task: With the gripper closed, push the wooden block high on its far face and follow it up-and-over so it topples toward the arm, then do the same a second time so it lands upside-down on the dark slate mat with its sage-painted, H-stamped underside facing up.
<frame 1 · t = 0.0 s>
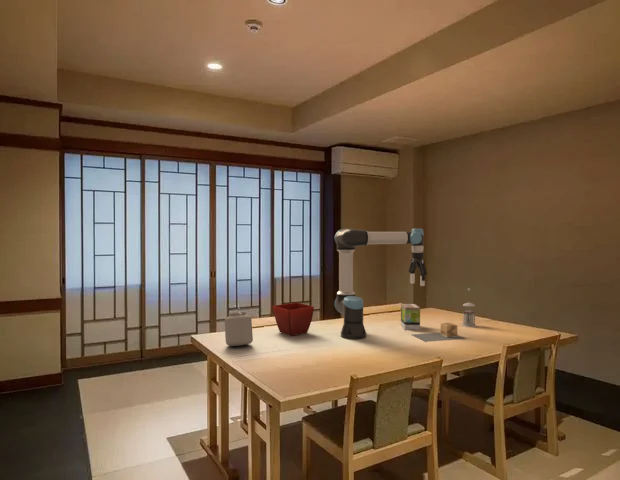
hand: (417, 284, 295), 28 cm above the table, fingers open, 13 cm apart
wooden block: (448, 335, 269), resting on slate mat
plant pot: (293, 333, 279), on the table
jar: (238, 346, 249), on the table
tea box: (410, 328, 294), on the table
slate mat: (438, 337, 268), on the table
french press: (468, 326, 299), on the table
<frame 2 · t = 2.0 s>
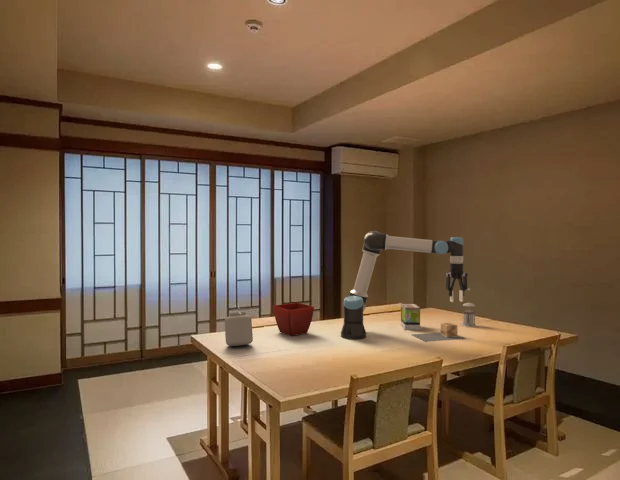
hand: (456, 301, 270), 21 cm above the table, fingers open, 6 cm apart
nothing on the table moved.
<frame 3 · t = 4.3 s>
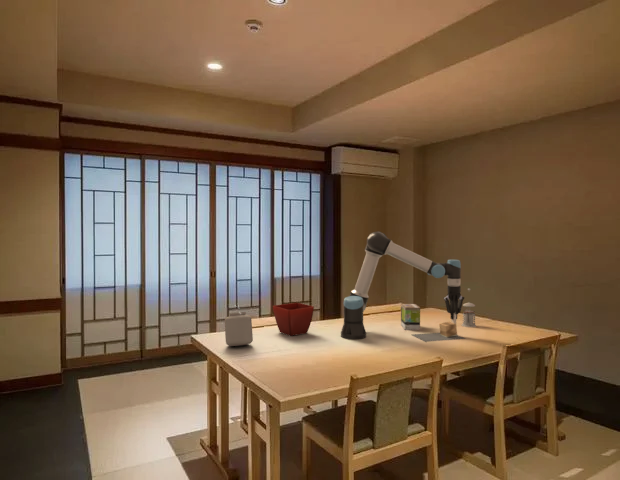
hand: (453, 324, 270), 7 cm above the table, fingers closed
wooden block: (448, 335, 269), point 1 cm above the table, tilted 8°, touching gripper, slate mat
everything else where it was.
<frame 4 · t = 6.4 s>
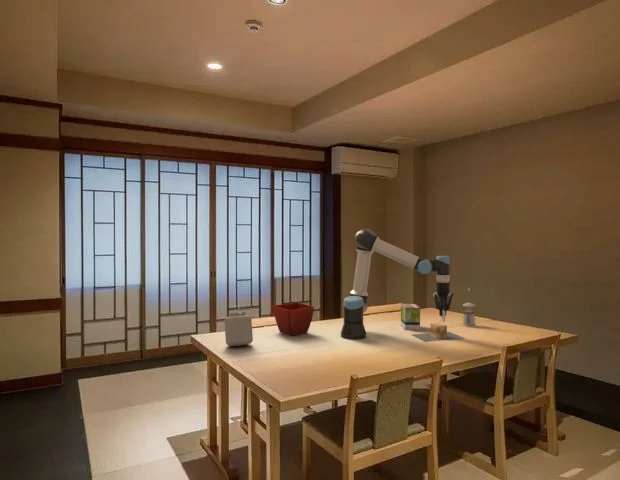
hand: (442, 321, 268), 9 cm above the table, fingers closed
wooden block: (443, 330, 268), point 4 cm above the table, tilted 89°, touching slate mat
everything else where it was.
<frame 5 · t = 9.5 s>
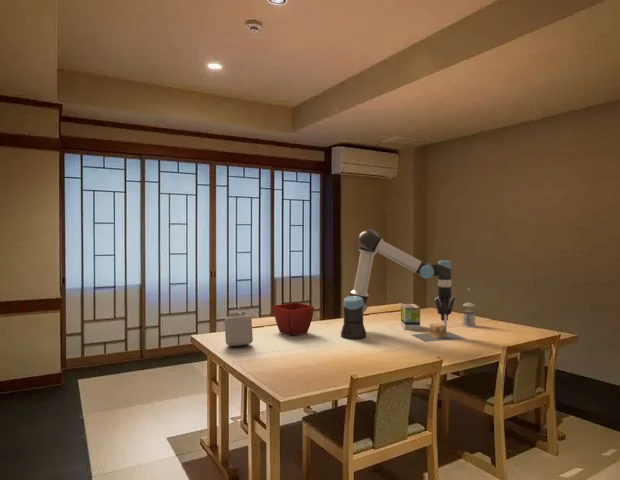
hand: (444, 325, 269), 7 cm above the table, fingers closed
wooden block: (443, 329, 268), point 4 cm above the table, tilted 93°, touching gripper, slate mat
everything else where it was.
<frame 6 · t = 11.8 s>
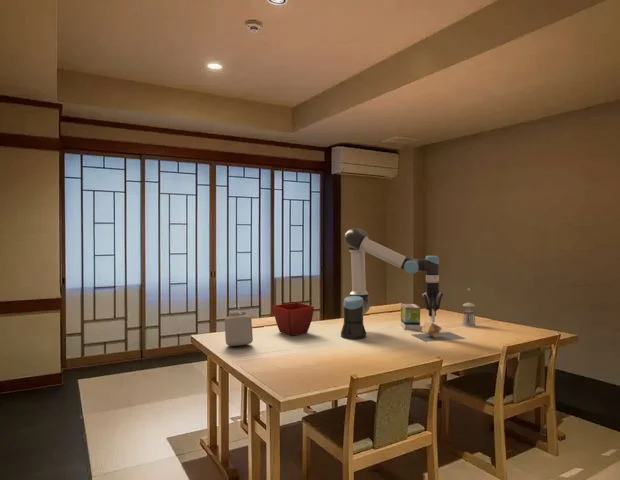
hand: (432, 321, 267), 9 cm above the table, fingers closed
wooden block: (433, 323, 267), point 8 cm above the table, tilted 150°, touching gripper, slate mat
everything else where it was.
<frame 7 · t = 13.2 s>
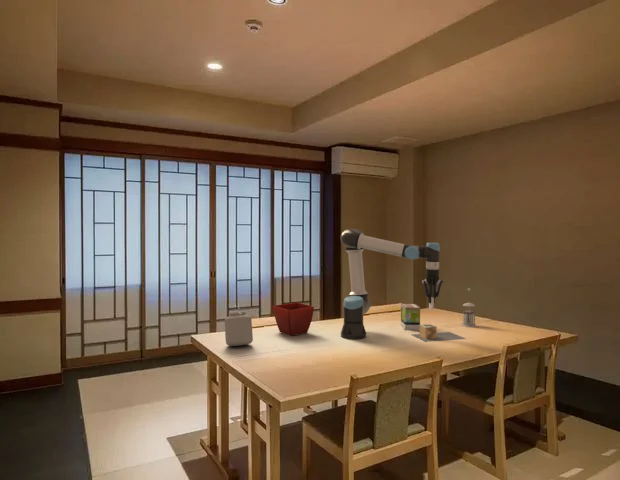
hand: (431, 308, 266), 17 cm above the table, fingers closed
wooden block: (427, 325, 266), point 7 cm above the table, tilted 180°, touching slate mat
everything else where it was.
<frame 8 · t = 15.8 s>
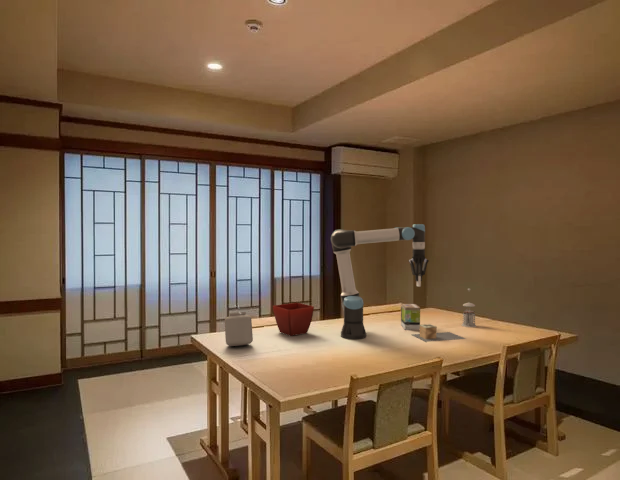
hand: (418, 286, 282), 28 cm above the table, fingers closed
nothing on the table moved.
at the end: wooden block tilted 180°; wooden block inside the target area (0.4 cm from its centre), point 7.4 cm above the table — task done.
